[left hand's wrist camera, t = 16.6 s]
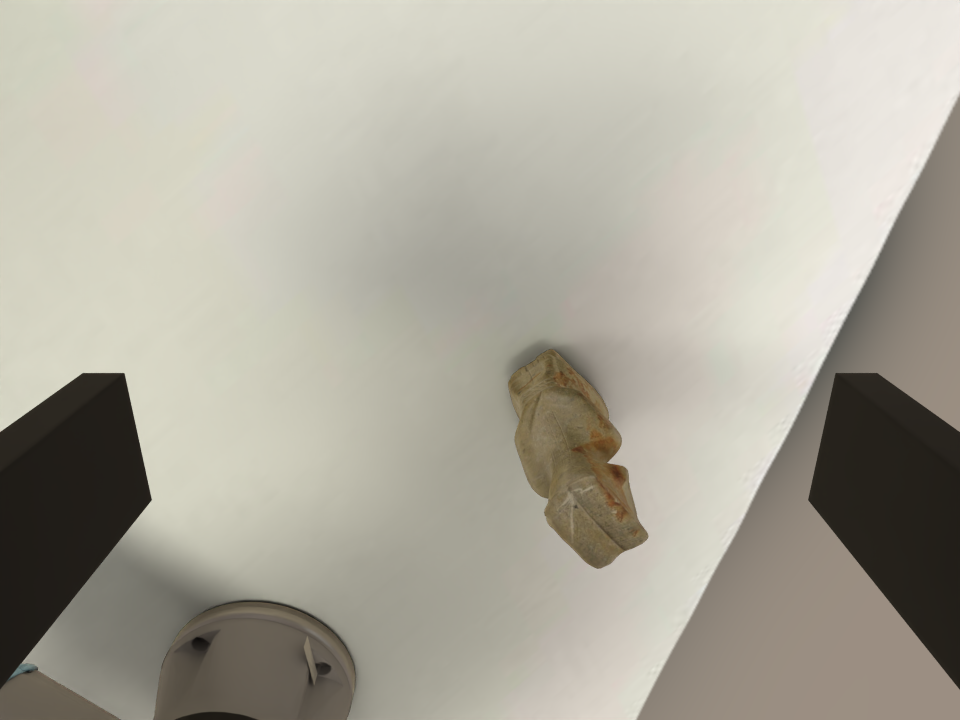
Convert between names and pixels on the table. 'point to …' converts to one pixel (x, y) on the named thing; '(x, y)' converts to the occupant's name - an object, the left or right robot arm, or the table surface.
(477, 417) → the table surface
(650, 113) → the table surface
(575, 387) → the sculpture
